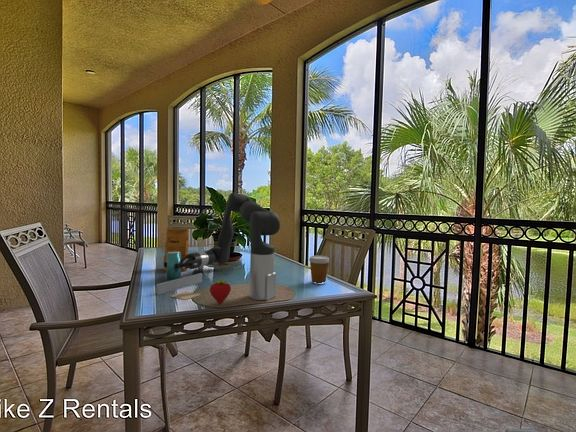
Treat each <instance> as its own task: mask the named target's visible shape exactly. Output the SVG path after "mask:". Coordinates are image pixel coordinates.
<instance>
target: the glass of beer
mask: <svg viewBox="0 0 576 432" xmlns="http://www.w3.org/2000/svg"><path fill="white" fill-rule="evenodd" d="M308 260H309V265H310V275H311V276H310V277H311V283H312V282H316V283H322V282H325V281H327V275H328V268H329V263H330V258H329V257H328V256H327V255H326V256H325V255H311V256H310V257H309V259H308Z"/></svg>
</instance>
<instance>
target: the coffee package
mask: <svg viewBox="0 0 576 432" xmlns="http://www.w3.org/2000/svg"><path fill="white" fill-rule="evenodd" d="M165 237H166V238H165V245H164V248H165V249H164V256H163V263H164V262H167V253H168V252H171V251H179V252H181V258H185V257H186V255H187V254H189V253H188V252H189V228H188V227H185V228H172V227H171V228H170V227H167V228H166V236H165ZM187 270H189V268H181V272H186V271H187ZM163 271H164V272H167V267H164V266H163Z"/></svg>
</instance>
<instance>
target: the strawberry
mask: <svg viewBox="0 0 576 432" xmlns="http://www.w3.org/2000/svg"><path fill="white" fill-rule="evenodd" d="M220 278H221V279H220V280H218V281H217V280H216V281H213V284H211V285H210V287H209V291H210V295H211V296H212V297H213V299H214V300H215V301H216V302H217V303H218V304H220V305H221V304H223V302H224V301H225V300H226V299H227V298H228V296H229V295H230V292H231V289H232V287H231V285H230V284H229V281H228V280H227V281H226V280H223V278H222V276H220Z"/></svg>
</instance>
